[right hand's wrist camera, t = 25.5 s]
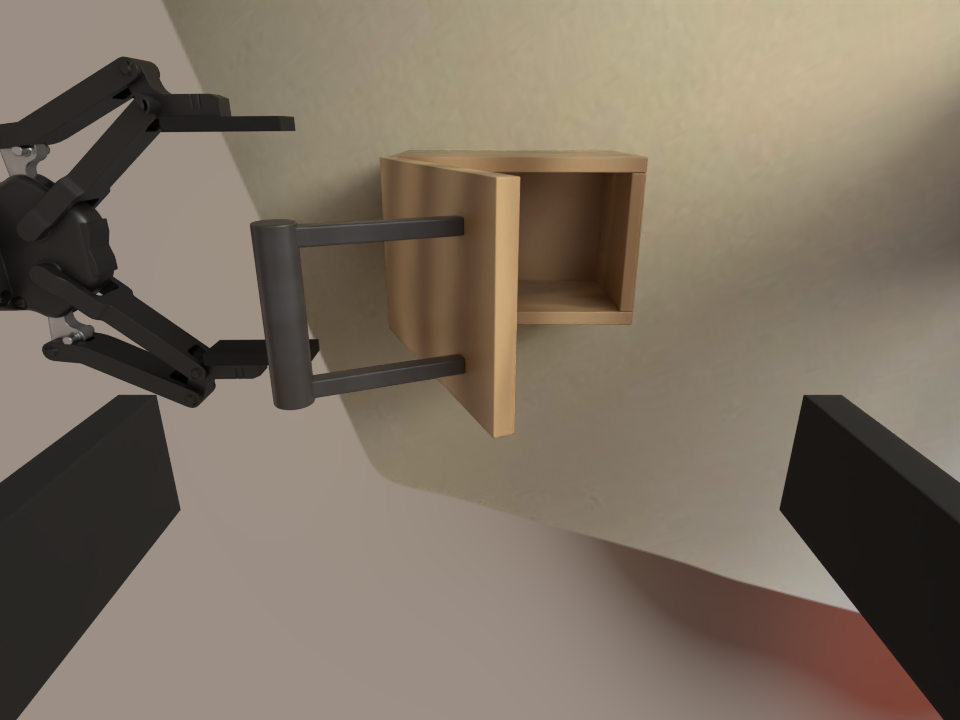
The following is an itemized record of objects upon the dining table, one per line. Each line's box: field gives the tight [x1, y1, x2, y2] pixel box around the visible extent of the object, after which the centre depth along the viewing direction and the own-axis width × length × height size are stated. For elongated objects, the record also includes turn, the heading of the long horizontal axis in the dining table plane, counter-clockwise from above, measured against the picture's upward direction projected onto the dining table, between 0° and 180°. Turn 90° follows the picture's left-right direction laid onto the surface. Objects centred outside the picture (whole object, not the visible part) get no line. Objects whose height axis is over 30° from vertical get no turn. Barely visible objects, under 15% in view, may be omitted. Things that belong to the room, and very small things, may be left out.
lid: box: [250, 157, 520, 438], centre depth 26 cm, size 15×10×8 cm
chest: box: [391, 151, 648, 325], centre depth 39 cm, size 14×10×9 cm
